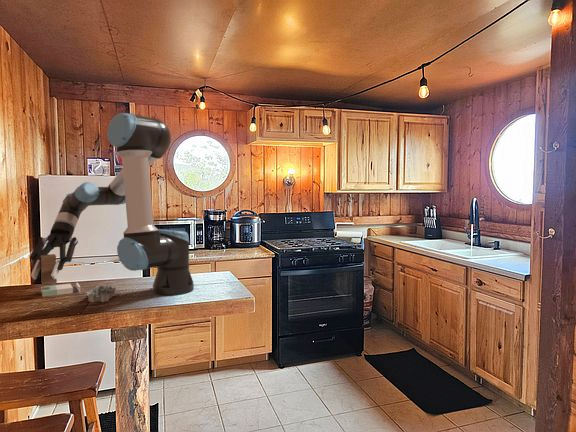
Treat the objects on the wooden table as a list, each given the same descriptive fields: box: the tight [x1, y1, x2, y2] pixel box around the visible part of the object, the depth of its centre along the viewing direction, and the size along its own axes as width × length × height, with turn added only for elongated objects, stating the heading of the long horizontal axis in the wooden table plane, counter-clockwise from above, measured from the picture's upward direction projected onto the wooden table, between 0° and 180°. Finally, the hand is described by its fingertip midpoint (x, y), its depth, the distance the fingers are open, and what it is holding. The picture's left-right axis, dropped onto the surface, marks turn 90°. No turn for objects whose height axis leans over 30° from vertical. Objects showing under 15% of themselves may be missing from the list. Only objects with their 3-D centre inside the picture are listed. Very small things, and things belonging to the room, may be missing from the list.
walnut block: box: [40, 253, 58, 286], centre depth 144 cm, size 4×4×10 cm
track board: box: [40, 282, 81, 297], centre depth 146 cm, size 7×12×2 cm, turn 125°
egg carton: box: [86, 284, 117, 303], centre depth 140 cm, size 11×8×4 cm
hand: (43, 277), depth 140 cm, fingers closed on walnut block, 6 cm apart
